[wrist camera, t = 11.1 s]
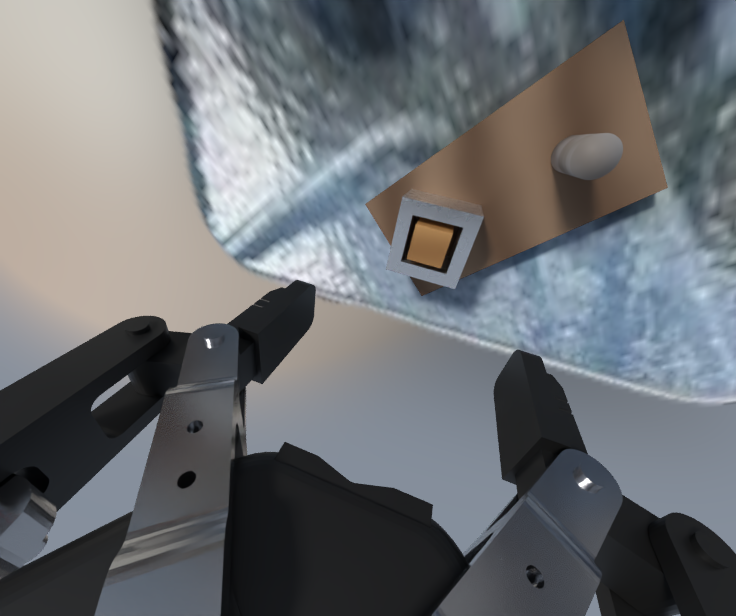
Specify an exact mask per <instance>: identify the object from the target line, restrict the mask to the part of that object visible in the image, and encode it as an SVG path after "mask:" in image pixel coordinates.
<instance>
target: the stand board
mask: <svg viewBox="0 0 736 616" xmlns="http://www.w3.org/2000/svg"><path fill="white" fill-rule="evenodd" d="M666 188H668V187H667V183H666V179H665V175H664V171H663V168H662V164H661V160H660V156H659V152H658V149H657V145H656V141H655V137H654V133H653V130H652V126H651V122H650V118H649V114H648V110H647V107H646V103H645V99H644V95H643V91H642V88H641V84H640V80H639V76H638V72H637V69H636V65H635V61H634V57H633V53H632V49H631V46H630V42H629V38H628V34H627V30H626V27H625V23H624V20H623V21H621V22H620V23H619V24H617V25H616V26H614V27H613V28H611V29H610V30H609V31H607V32H606V33H604V34H603V35H602V36H600V37H599V38H597V39H596V40H595V41H593V42H592V43H590V44H589V45H588V46H586V47H585V48H583V49H582V50H581V51H579V52H578V53H576V54H575V55H574V56H572V57H571V58H569V59H568V60H567V61H565V62H564V63H562V64H561V65H560V66H558V67H557V68H555V69H554V70H553V71H551V72H550V73H548V74H547V75H546V76H544V77H543V78H541V79H540V80H539V81H537V82H536V83H534V84H533V85H532V86H530V87H529V88H527V89H526V90H525V91H523V92H522V93H520V94H519V95H518V96H516V97H515V98H513V99H512V100H511V101H509V102H508V103H506V104H505V105H504V106H502V107H501V108H499V109H498V110H497V111H495V112H494V113H492V114H491V115H490V116H488V117H487V118H485V119H484V120H483V121H481V122H480V123H478V124H477V125H476V126H474V127H473V128H471V129H470V130H469V131H467V132H466V133H464V134H463V135H462V136H460V137H459V138H457V139H456V140H455V141H453V142H452V143H450V144H449V145H448V146H446V147H445V148H443V149H442V150H441V151H439V152H438V153H436V154H435V155H434V156H432V157H431V158H429V159H428V160H427V161H425V162H424V163H422V164H421V165H420V166H418V167H417V168H415V169H414V170H413V171H411V172H410V173H408V174H407V175H406V176H404V177H403V178H401V179H400V180H399V181H397V182H396V183H394V184H393V185H392V186H390V187H389V188H387V189H386V190H385V191H383V192H382V193H380V194H379V195H377V196H376V197H375V198H373V199H372V200H370V201H369V202H368V203H366V204H365V205H366V206H367V208H368V209H369V211H370V213H371V214H372V216H373V218H374V219H375V221H376V222H377V224H378V226H379V227H380V229H381V231H382V232H383V234H384V235H385V237H386V239H387V240H388V242H389V244H390V245H391V244H392V240H393V236H394V231H395V227H396V222H397V218H398V214H399V209H400V205H401V200H402V197H403V196H404V195H405V194H406V193H407V192H408V191H410V190H411V189H415V190H419V191H423V192H427V193H431V194H436V195H440V196H444V197H448V198H452V199H457V200H461V201H465V202H469V203H474V204H478V205H481V207H482V210H483V214H484V218H483V221H482V223H481V226H480V228H479V231H478V233H477V236H476V238H475V241H474V243H473V246H472V248H471V251H470V253H469V256H468V258H467V261H466V263H465V266H464V268H463V271H462V273H461V276H460V278H459V279H461V278H464V277H466V276H468V275H471V274H473V273H475V272H477V271H480V270H482V269H484V268H486V267H489V266H491V265H493V264H496V263H498V262H500V261H502V260H505V259H507V258H509V257H511V256H514V255H516V254H518V253H520V252H523V251H525V250H527V249H530V248H532V247H534V246H536V245H539V244H541V243H543V242H545V241H548V240H550V239H552V238H555V237H557V236H559V235H561V234H564V233H566V232H568V231H570V230H573V229H575V228H577V227H580V226H582V225H584V224H586V223H589V222H591V221H593V220H595V219H598V218H600V217H602V216H604V215H607V214H609V213H611V212H614V211H616V210H618V209H620V208H623V207H625V206H627V205H629V204H632V203H634V202H636V201H639V200H641V199H643V198H645V197H648V196H650V195H652V194H654V193H657V192H659V191H661V190H664V189H666ZM458 230H459V226H455V225H451V224H447V223H443V222H439V221H435V220H431V219H427V218H423V217H419V216H417V218H416V222H415V226H414V230H413V233H412V237H411V241H410V245H409V246H410V248H409V252H408V256H407V259H409V260H412V261H416V262H419V263H423V264H427V265H430V266H434V267H437V268H441V266H442V263H443V261H444V258H445V255H446V256H449V255H450V252H451V249H452V246H453V244H454V241H455V238H456V235H457V232H458ZM410 278H411V279H412V281H413V283H414V284H415V286H416V287H417V289H418V291H419V292H420V294H421V296H423V295H425V294H427V293H430V292H432V291H434V290H436V289H439V288H441V287H443V286H442V285H438V284H435V283H431V282H428V281H424V280H421V279H417V278H414V277H411V276H410Z"/></svg>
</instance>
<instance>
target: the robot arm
mask: <svg viewBox="0 0 736 616" xmlns="http://www.w3.org/2000/svg"><path fill="white" fill-rule="evenodd" d="M315 292H316V289H315V286H314V285H312V284H309V283H306V282H303V281H299V280H295V281H294V282H293V283H292V284H290V285H289V286H288V287H287V288H279V289H276V290H273V291H270V292H269V293H268V294H266V295H265V296H263V297H262V298H261V300H258V301H257V302H256V303H255V304H254V305H252V306H250V307H249V308H248V309H246V310H245V311H244V312H243V313H241V314H240V315H239V316H237V317H236V318H235V319H234V320H232V321H231V322H229V323H228V324H220V323H219V324H210V325H206V326H203V327H201V328H199V329H197V330H196V331H194V332H193V333H184V332H173V331H168V328H167V325H166V322H165V321H164V320H163V319H161V318H159V317H156V316H139V317H135V318H130V319H127V320H125V321H122V322H120V323H119V324H117V325H115V326H113V327H112V328H110V329H108V330H106V331H104V332H103V333H101V334H99V335H97V336H96V337H94V338H92V339H90V340H89V341H87V342H85V343H83V344H82V345H80V346H78V347H76V348H75V349H73V350H71V351H69V352H67V353H66V354H64V355H62V356H60V357H59V358H57V359H55V360H53V361H52V362H50V363H48V364H46V365H45V366H43V367H41V368H39V369H38V370H36V371H34V372H32V373H30V374H29V375H27V376H25V377H24V378H22V379H20V380H18V381H16V382H15V383H13V384H11V385H9V386H8V387H6V388H4V389H2V390H0V616H585V615H586V612H587V610H588V608H589V605H590V603H591V601H592V599H593V597H594V594H595V592H596V595H597V599H598V603H599V608H600V612H601V616H672V615H676V614H681V616H736V554H735V553H734V552H733V550H732V549H731V548H730V547H729V546H728V545H727V544H726V543H725V542H724V541H723V540H722V539H721V538H720V537H719V536H718V535H716V534H715V533H714V532H713V531H712V530H710V529H709V528H708V527H706V526H705V525H703V524H702V523H700V522H699V521H697V520H695V519H694V518H692V517H689V516H687V515H684V514H681V513H670V514H668V515H666V516H664V517H662V518H658V517H657V516H655V515H653V514H652V513H650V512H649V511H647V510H646V509H644V508H642V507H640V506H639V505H638V504H636V503H634V502H633V501H631V500H630V499H628V498H627V497H625V496H623V495H622V492H621V490H620V487H619V485H618V483H617V482H616V480H615V479H614V477H613V476H612V475H611V473H610V472H609V471H608V470H607V469H606V468H605V467H604V466H603V465H602V464H601V463H599V462H598V461H597V460H596V459H594V458H593V457H591V456H590V455H588V453H587V451H586V448H585V445H584V443H583V440H582V437H581V435H580V432H579V430H578V427H577V424H576V422H575V419H574V417H573V415H572V414H571V408H570V406H569V404H568V403H567V398H566V395H565V393H564V390H563V388H562V387H561V385H560V384H559V383H558V382H557V380H556V379H555V378H554V377H553V376H552V375H551V374H547V373H546V370H545V367H544V364H543V361H542V358H541V357H540V356H537V355H534V354H530V353H527V352H524V351H521V350H516V351H515V352H514V353H513V354H512V356H511V357H510V359H509V360H508V362H507V364H506V365H505V367H504V368H503V370H502V371H501V373H500V375H499V376H498V378H497V380H496V383H495V386H494V402H495V411H496V422H497V432H498V442H499V452H500V462H501V472H502V479H503V480H505V481H508V482H510V483H513V484H516V485H517V492H518V493H517V494H516V495H515V496H514V497H513V499H511V501H510V502H509V503H508V504H507V505H506V506H505V508H504V509H503V510H502V511H501V512H500V513H499V514H498V516H497V517H496V518H495V519H494V520H493V521H492V523H491V524H490V525H489V526H488V527H487V528H486V530H485V531H484V532H483V533H482V534H481V535H480V536H479V537H478V538H477V540H476V541H475V542H474V543H473V544H472V545H471V546H470V547H469V548H468V549H467V550H466V551H465V552H464V553H463V554H462V552H461V551H460V549H459V548H458V547H457V545H456V544H455V542H454V541H453V540H452V539H451V537H450V536H449V535H448V534H447V532H446V531H445V530H444V529H443V528H442V527H441V526H439V524H437V523H436V522H435V521H434V520H433V519H431V518H432V508H433V507H432V506H433V505H432V504H430V503H428V502H425V501H423V500H421V499H418V498H416V497H413V496H411V495H409V494H407V493H404V492H402V491H399V490H397V489H395V488H389V487H381V486H373V485H365V484H357V483H353V482H350V481H349V480H348V479H346V478H345V477H344V476H343V475H341V474H340V473H339V472H338V471H336V470H335V469H334V468H333V467H331V466H330V465H329V464H327V463H326V462H325V461H324V460H323V459H321V458H320V457H319V456H317V455H315V454H312V453H310V452H307V451H305V450H303V449H300V448H298V447H296V446H293V445H291V444H289V443H286V442H284V444H283V446H282V447H281V449H280V451H279V452H262V453H254V454H250V455H247V444H246V386H247V384H248V383H249V382H250V381H251V380H253V381H256V382H258V383H261V384H263V383H264V381H265V380H266V379H267V378H268V377H269V376H270V374H271V373H272V372H273V371H274V370H275V369H276V367H277V366H278V365H279V364H280V363H281V362H282V360H283V359H284V358H285V357H286V356H287V354H288V353H289V352H290V351H291V350H292V348H293V347H294V346H295V345H296V344H297V343H298V341H299V340H300V339H301V338H302V337H303V336H304V334H305V333H306V332H307V331H308V330H309V328H310V326H311V324H312V322H313V318H314V307H315ZM126 375H128V376H129V379H130V380H131V382H129V383H128V384H127V385H125V386H124V387H123V388H122V389H120V390H119V391H118V392H116V393H115V394H114V395H112V396H111V397H110V398H108V399H107V400H106V401H105V402H103V403H102V404H101V405H100V406H98V407H97V408H96V409H94V410H93V411H92V412H91V407H92V405H93V403H94V401H95V400H96V399H97V397H99V396H100V395H101V394H102V393H104V392H105V391H106V390H107V389H109V388H110V387H112V386H113V385H114V384H116V383H117V382H118V381H120V380H121V379H122V378H124V377H125V376H126ZM159 413H160V415H159V419H158V423H157V426H156V430H155V433H154V437H153V441H152V444H151V448H150V452H149V455H148V459H147V463H146V466H145V470H144V474H143V477H142V481H141V485H140V488H139V492H138V496H137V499H136V503H135V507H134V510H133V511H132V512H130V513H128V514H126V515H124V516H122V517H120V518H118V519H116V520H114V521H112V522H110V523H108V524H106V525H104V526H102V527H100V528H98V529H96V530H94V531H92V532H90V533H88V534H86V535H84V536H82V537H80V538H78V539H76V540H75V541H72V542H70V543H68V544H67V545H64V546H63V547H60V548H58V549H56V550H55V551H53V552H51V553H49V554H47V555H45V556H43V557H41V558H39V559H37V560H35V561H33V562H31V563H29V564H27V565H25V566H23V565H24V564H25V563H26V562H28V561H30V560H32V559H33V558H34V557H36V556H37V555H38V554H39V553H40V552H41V551H42V549H43V548H44V547H45V545H46V543H47V541H48V536H47V534H48V532H49V531H50V529H51V527H52V526H53V523H54V521H55V518H56V512H57V511H58V510H59V509H60V508H61V507H62V506H63V505H64V504H66V503H67V501H69V500H70V499H71V498H72V497H73V496H74V495H75V494H76V493H77V492H78V491H79V490H80V489H81V488H82V487H83V486H84V485H85V484H86V483H87V482H88V481H90V480H91V479H92V478H93V477H94V476H95V475H96V474H97V473H98V472H99V471H100V470H101V469H102V468H103V467H104V466H105V465H106V464H107V463H108V462H109V461H110V460H111V459H112V458H114V457H115V456H116V454H118V453H119V452H120V451H121V450H122V449H123V448H124V447H125V446H126V445H127V444H128V443H129V442H130V441H131V440H132V439H133V438H134V437H135V436H136V435H137V434H139V433H140V432H141V431H142V430H143V429H144V428H145V427H146V426H147V425H148V424H149V423H150V422H151V421H152V420H153V419H154V418H155V417H156V416H157V415H158V414H159Z"/></svg>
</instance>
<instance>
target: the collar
mask: <svg viewBox="0 0 736 616" xmlns="http://www.w3.org/2000/svg"><path fill="white" fill-rule="evenodd" d="M417 216H419V217H423V218H427V219H431V220H435V221H439V222H443V223H447V224H451V225H455V226H459V230H458V232H457V235H456V238H455V241H454V244H453V246H452V249H451V252H450V255H449V256H446V255H445V258H444V261H443V263H442V266H441V268H437V267H434V266H430V265H427V264H423V263H419V262H416V261H412V260H409V259H407V256H408V252H409V248H410V246H409V245H410V241H411V237H412V233H413V230H414V226H415V222H416V218H417ZM483 218H484V214H483V210H482V207H481V205H478V204H474V203H469V202H465V201H461V200H457V199H452V198H448V197H444V196H440V195H436V194H431V193H427V192H423V191H419V190H415V189H411V190H410V191H408V192H407V193H406V194H405V195H404V196H403V197H402V200H401V205H400V209H399V214H398V218H397V222H396V227H395V231H394V236H393V240H392V244H391V249H390V253H389V258H388V262H387V267H386V270H390V271H393V272H397V273H400V274H404V275H407V276H411V277H414V278H417V279H421V280H424V281H428V282H431V283H435V284H438V285H442V286H445V287H449V288H452V289H455V288H456V286H457V283H458V281H459V278H460V276H461V273H462V271H463V268H464V266H465V263H466V261H467V258H468V256H469V253H470V251H471V248H472V246H473V243H474V241H475V238H476V236H477V233H478V231H479V228H480V226H481V223H482V221H483Z"/></svg>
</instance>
